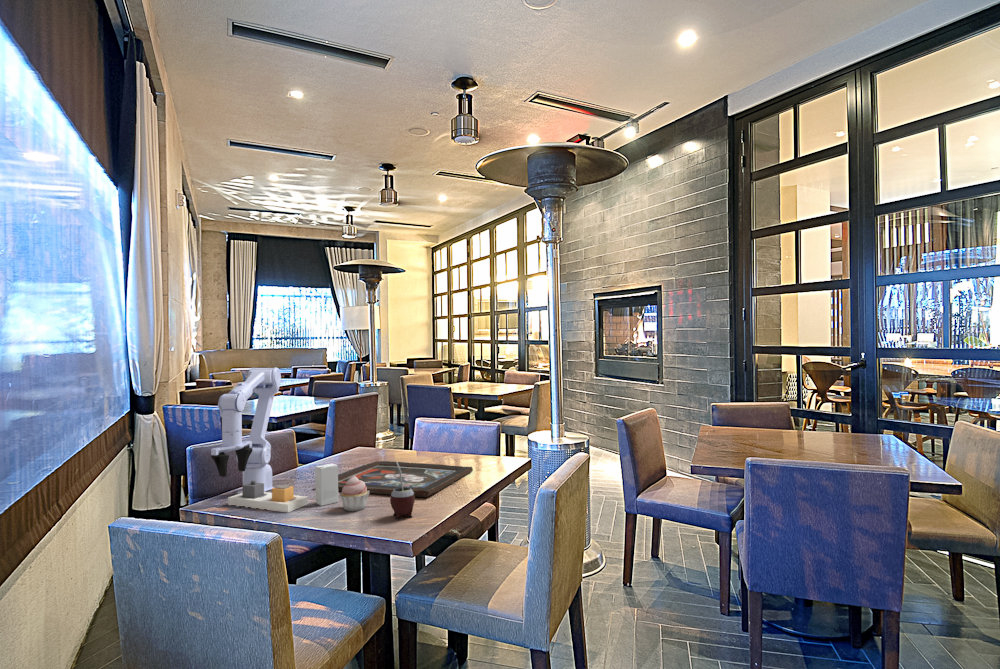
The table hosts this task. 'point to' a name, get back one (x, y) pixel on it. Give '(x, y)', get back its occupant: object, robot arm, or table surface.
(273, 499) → the orange block
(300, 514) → the table surface
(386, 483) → the religious icon
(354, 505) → the cupcake
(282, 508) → the white recessed tray
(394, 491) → the mate gourd
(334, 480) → the skincare box
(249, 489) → the twin plug
